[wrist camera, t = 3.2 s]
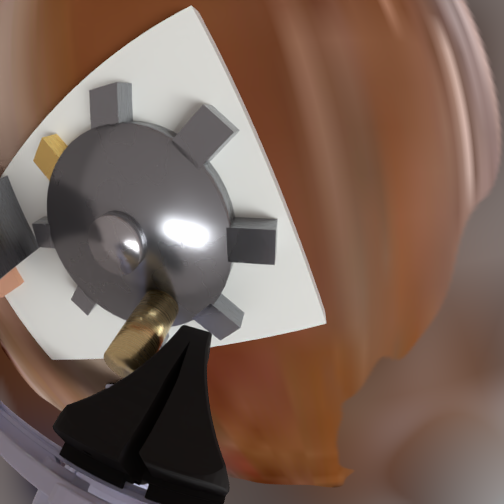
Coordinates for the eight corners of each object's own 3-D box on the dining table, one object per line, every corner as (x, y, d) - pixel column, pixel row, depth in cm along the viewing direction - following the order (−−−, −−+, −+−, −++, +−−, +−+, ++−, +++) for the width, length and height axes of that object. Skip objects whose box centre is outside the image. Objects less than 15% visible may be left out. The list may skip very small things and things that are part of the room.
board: (325, 311, 15) (327, 331, 14) (56, 353, 24) (49, 363, 22) (198, 12, 9) (186, 1, 7) (-23, 226, 17) (-33, 233, 16)
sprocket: (311, 306, 14) (313, 398, 9) (119, 343, 18) (84, 399, 13) (193, 32, 8) (121, -12, 4) (20, 175, 13) (-43, 206, 8)
